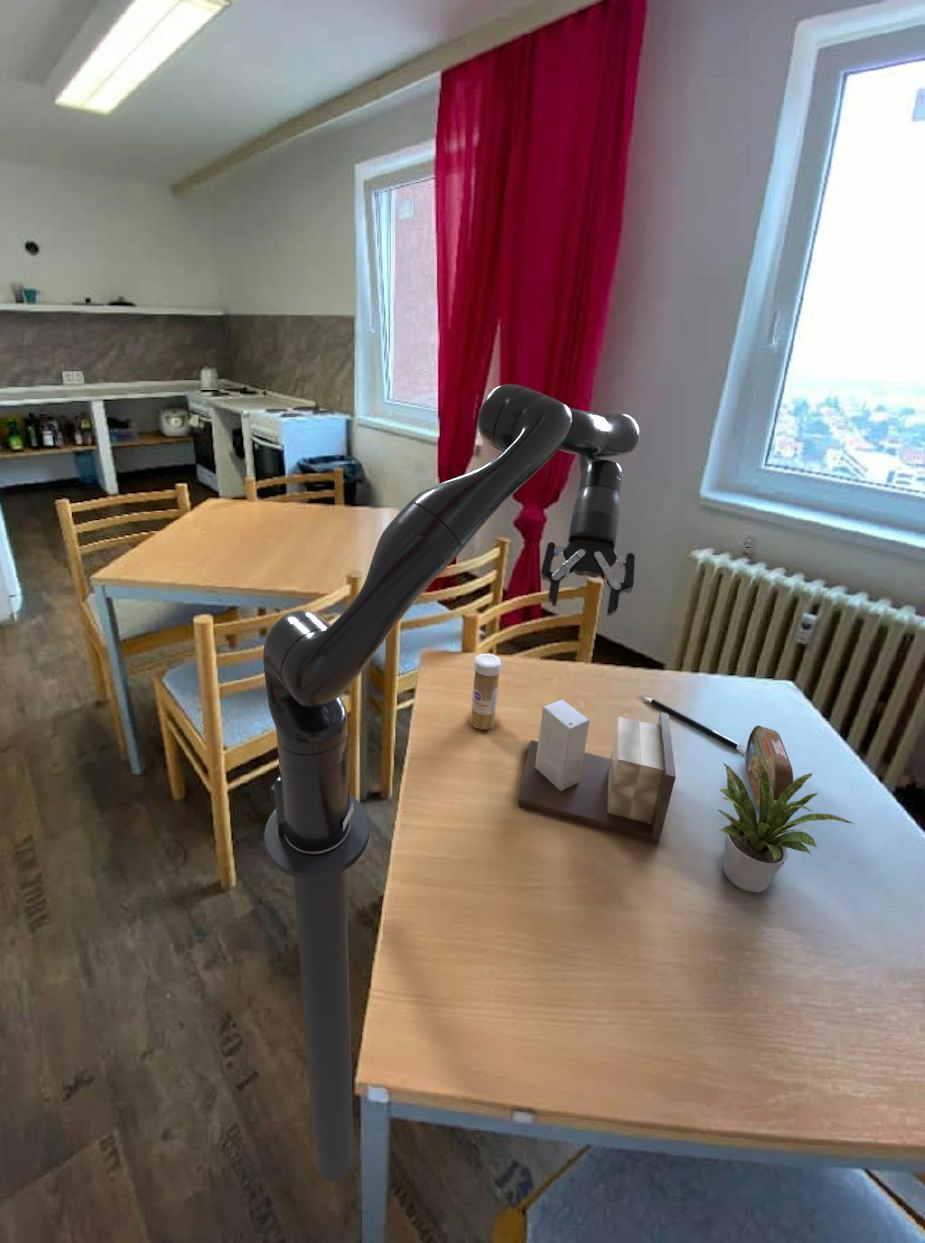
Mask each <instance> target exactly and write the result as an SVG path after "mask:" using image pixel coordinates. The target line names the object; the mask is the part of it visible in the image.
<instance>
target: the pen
mask: <svg viewBox="0 0 925 1243" xmlns="http://www.w3.org/2000/svg"><path fill="white" fill-rule="evenodd" d="M643 698H644V699H645V700H646V701H647V702H648V703H650V705H653V706H654V707H657V708H658V709H660V710H662V711H664V712H665V713H667V714H670V715H672V716H673V717H675V718H677V719H679V720H681V721H683V722H684V723H687V724H689V725H690V726H692V727H694V728H696V729H698V730H700V731H701V732H703V733H705V734H707V735H709V736H711V737H713V738H714V739H716V740H718V741H720V742H722V743H724V744H726V745H727V746H730V747H732V748H733V749H735V750H740V751H742V752H744V753H746V749H745V748H743V747H741V743H739V742H737V741H735V740H733V739H731V738H729V737H728V736H725V735H724V734H722V733H720V732H718V731H716V730H714V729H710V728H708V727H706V726H704V725H703V724H700V723H699V722H697V721H695V720H693V719H692V718H689V717H687V716H686V715H684V714H682V713H680V712H678V711H676V710H675V709H672V708H670V707H669V706H666V705H665V704H663V703H661V702H659V701H657V700H656V699H654V698H650V697H647V696H643Z"/></svg>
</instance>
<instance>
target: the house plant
mask: <svg viewBox="0 0 925 1243" xmlns="http://www.w3.org/2000/svg"><path fill="white" fill-rule="evenodd" d="M753 754H754V758H755V761H756V764H757V768H758V771H759V775H760V778H759V777H758V775H757V774H756V772H755V771H754V770H753V769H752V768H751V767H750V768H751V769H752V771H753V772H754V774H755V775H756V777H757V778H758V780H759V782H760V806H759V807H758V808H759V809H758V810H759V814H758V815H759V816H757V811H756V808H755V806H754V803H753V801H752V800H751V798H750V795H749V792H748V790H747V788H746V786H745V784H744V782H743V779H741V778H740V776H739V775H738V774H736V773H735V771H734V770H733V769H732V768H731V767H730V766H729V765H727V764H726V763H724V762H722V764H723V765H724V766H723V767H725V772H726V775H727V777H726V778H727V779H726V787H727V788H726V787H725V788H720V789H719V791H720V792H721V793H722V794H723V795H724V796H725V797H722V799H723V800H726V801H728V802H730V803H732V805H733V807H734V811H735V812H736V814H737V816H738V819H737V818H735V817H734V816H732V815H731V814H729V813H727V812H725V811H722V810H719V809H717V811H718V812H719V813H720V814H721V815H723V816H724V817H726V819H728V821H730V822H729V823H728V824H727V825H726V826H724V827H722V828H721V829H719V830H718V832H723V833H725V838H724V839H725V840H724V853H723V872H724V874H725V876H726V877H727V879H728V880H729V881H731V883H732V884H733V885H735V886H736V887H737V888H739V889H741V890H743V891H747V892H751V893H761V892H765V890H766V889H767V887H768V886H769V885H770V883H771V882H772V880H773V879H774V878H775V877H776V875H777V874H778V872H779V871H780V870H781V868H782V866H783V865H784V864H785V862H786V861H787V860H788V857H789V851H788V849H791V850H794V851H798V852H803V853H807V854H810V855H811V856H813V854H812V853H811V852H810V850H809V849H808V847H807V846H810V847H811V846H812V847H815V848H816V849H818V845H817V844H816V841H815V838H814V837H812V836H811V835H810V834H809V833H807V832H805V831H813V829H811V828H797V829H791V828H793V827H795V826H797V825H800V824H804V823H808V822H817V821H838V822H841V823H845V824H851V825H855V823H854V822H852V821H849V820H847V819H845V818H843V817H841V816H837V815H834V814H829V813H813V810H812V809H810V808H809V807H807V806H805V805H806V804H808V802H810V801H811V800H812V799H813V798H814V797H816V796H817V795H819V793H818V792H815V793H810V794H807V795H806V796H803V797H802V798H801V799H799V800H794V801H791V802H789V801H790V800H791V799H792V797H793V796H794V795H795V794H796V793H797V792H798V791H799V790H800V789H801V788H803V786H804V785H805V783H806V781H808V779H810V778H811V777H812V776H813V774H814V772H811V773H808V774H803V775H801V776H800V777H798V778H797V779H795V780H793V783H791V784H790V785H789V786H788V787H787V788H786V789H785V790H784V791H783V792H782V793H781V794H780V796H779V799H778V801H777V800H774V793H773V790H772V788H771V786H770V784H769V778H768V774H767V772H766V770H765V768H764V767H763V765H762V764H761V762H760V760H759V758H758V756H757V755H756V754H755V753H754V751H753ZM770 788H771V793H770ZM788 802H789V803H788ZM786 803H787V804H786ZM785 804H786V806H785ZM800 809H803V810H806V811H809V812H812V813H809V814H805V815H802V816H800V817H797V818H795V819H793V820H790V819H791V818H792V817H793V816H794V815H795V814H796V813H797V811H799V810H800ZM757 817H758V819H757ZM804 830H805V831H804ZM806 845H807V846H806Z"/></svg>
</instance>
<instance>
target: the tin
mask: <svg viewBox="0 0 925 1243" xmlns="http://www.w3.org/2000/svg"><path fill="white" fill-rule="evenodd" d="M745 750H746V752H745V757H744V758H745V760H744V761H745V770H746V773H747V777H748V780H749V784H750V787H751V791H752V795H753V799H754V802H755V805H756V806H757V808H759V806H760V782H759V780H758V778H757V777H756V775H755V774H754V772H753V771H752V769H753V770H754V771H755V772H756V774H757V775H758V777H759V778H760V775H759V771H758V768H757V764H756V761H755V758H754V754H753V751H754V753H755V754H756V755H757V756H758V758H759V760H760V762H761V764H762V765H763V767H764V768H765V770H766V772H767V774H768V778H769V784H770V786H771V788H772V790H773V793H774V800H777V801H778V799H779V796H780V794H781V793H782V792H783V791H784V790H785V789H786V788H787V787H788V786H789V785H790V784H791V783H793V782H794V771H793V767H792V764H791V761H790V759H789V758H790V757H789V756H788V753H787V751H786V748H785V746H784V742H783V740H782V737H781V735H780V733H778V731H776V730H774V729H771V728H768V727H764V726H762V725H756V726H755V727H753V729H752V730H751V732H750V734H749V737H748V739H747V744H746V749H745ZM750 767H751V768H752V769H751V768H750ZM771 788H770V793H771ZM787 804H788V802H787V803H786V804H785V806H786V805H787Z"/></svg>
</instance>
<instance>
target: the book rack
mask: <svg viewBox="0 0 925 1243" xmlns="http://www.w3.org/2000/svg"><path fill="white" fill-rule="evenodd" d="M669 714H670V713H667V712H659V717H658V720H657V724H656V723H649V722H646V721H641V720H638V719H637V720H636V719H632V718H627V717H623V716H618V717H617V722H616V727H615V733H614V737H613V742H612V748H611V753H610V758H609V757H604V756H600V755H597V754H592V753H588V752H584V757H583V763H582V770H581V775H580V781H579V782H578V783H576V784H574V785H572V786H570V787H568V788H566V789H564V790H562V791H560V790H559V789H558V788H556V787H555V786H554V785H553V784H552V783H551V782H550V781H549V780H548V779H547V778H546V777H545V776H544V775H543V774H542V773H541V772H539V771H538V770H537V769H536V768H535V764H536V756H537V749H538V741H539V740H538V741H537V740H534V739H530V741H529V742H530V743H529V747H528V751H527V752H528V753H527V755H526V756H527V757H526V760H525V766H524V770H523V774H522V780H521V784H520V789H519V793H518V798H517V806H520V807H523V808H527V809H530V810H534V811H538V812H541V813H545V814H549V815H552V816H555V817H560V818H564V819H567V820H571V821H574V822H577V823H582V824H585V825H589V826H593V827H597V828H601V829H605V830H606V831H607V830H608V831H610V832H611V831H612V832H615V833H618V834H622V835H626V836H628V837H634V838H637V839H641V840H644V841H648V842H651V843H655V844H660V840H661V837H662V833H663V829H664V825H665V821H666V817H667V813H668V809H669V805H670V802H671V797H672V793H673V790H674V786H675V782H676V778H677V776H676V766H675V759H674V758H675V757H674V750H673V741H672V732H671V722H670V715H669Z"/></svg>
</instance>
